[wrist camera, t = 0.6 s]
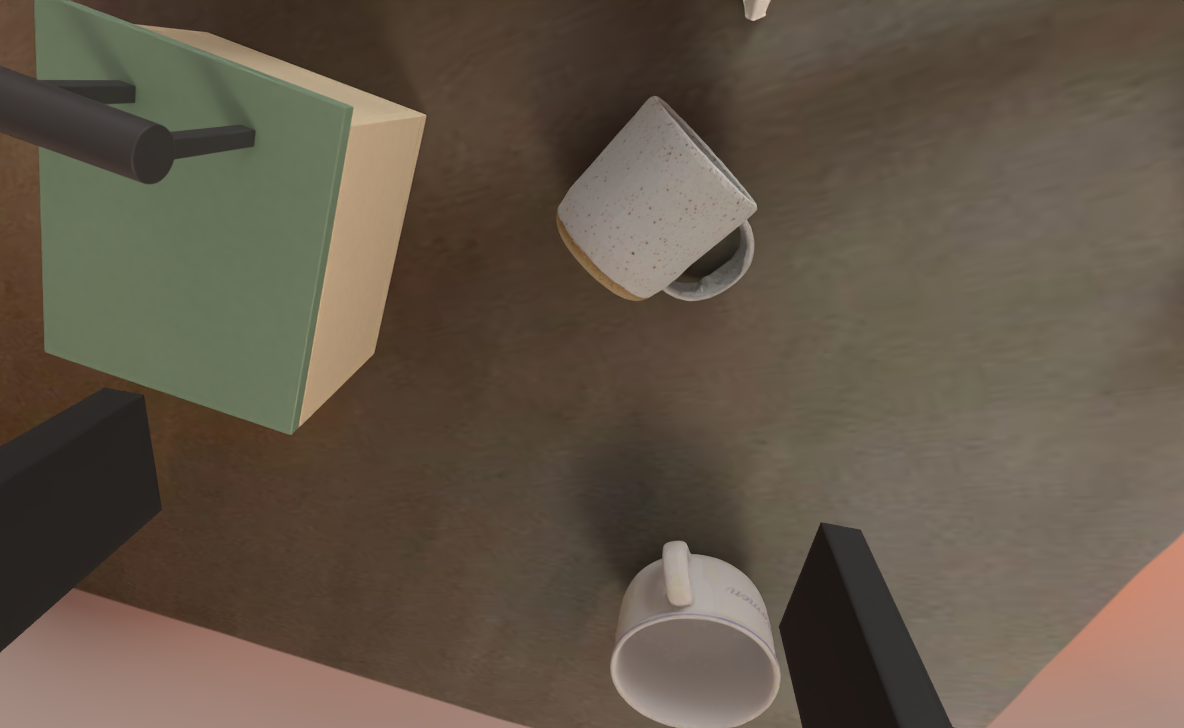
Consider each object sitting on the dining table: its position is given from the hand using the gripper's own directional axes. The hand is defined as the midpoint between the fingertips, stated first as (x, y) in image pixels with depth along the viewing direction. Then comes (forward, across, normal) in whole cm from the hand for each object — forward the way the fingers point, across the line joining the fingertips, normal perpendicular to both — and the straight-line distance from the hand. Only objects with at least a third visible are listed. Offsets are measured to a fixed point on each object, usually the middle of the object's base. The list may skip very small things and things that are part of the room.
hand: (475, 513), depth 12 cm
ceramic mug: (+27, +4, +2) cm, 28 cm away
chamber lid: (+17, -18, -2) cm, 25 cm away
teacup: (+27, +11, -24) cm, 38 cm away
